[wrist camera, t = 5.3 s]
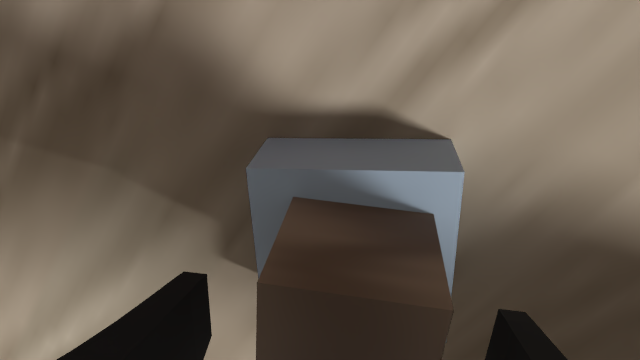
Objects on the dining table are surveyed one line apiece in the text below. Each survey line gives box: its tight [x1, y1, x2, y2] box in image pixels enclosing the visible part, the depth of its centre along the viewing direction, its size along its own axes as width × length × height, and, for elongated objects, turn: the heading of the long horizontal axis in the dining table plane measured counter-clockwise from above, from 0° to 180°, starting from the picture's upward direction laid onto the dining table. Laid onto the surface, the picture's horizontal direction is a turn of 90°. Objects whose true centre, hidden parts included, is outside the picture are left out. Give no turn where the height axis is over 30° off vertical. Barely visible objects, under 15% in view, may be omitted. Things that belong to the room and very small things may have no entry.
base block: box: [246, 138, 464, 341], centre depth 15 cm, size 6×6×3 cm
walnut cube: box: [256, 197, 454, 360], centre depth 12 cm, size 4×4×4 cm
